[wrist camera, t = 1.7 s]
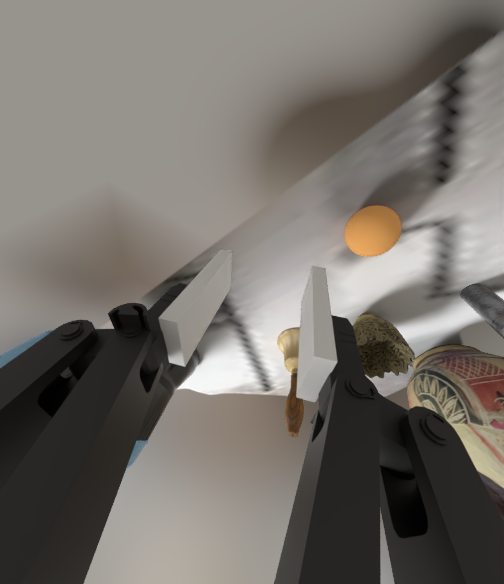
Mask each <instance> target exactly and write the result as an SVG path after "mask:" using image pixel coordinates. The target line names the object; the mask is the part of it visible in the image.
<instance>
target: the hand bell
mask: <svg viewBox="0 0 504 584" xmlns="http://www.w3.org/2000/svg"><path fill="white" fill-rule="evenodd" d="M299 338H300V328H292V329H288V330H285V331H283V332H282V333H281V334H280V335H279V337H278V340H277V342H278V346H279V348H280V350H281V351H282V352H283V353H284V360H285V362H284V364H285V367H286V369H287V370H288V371H289V372H291V373H292V375H291V389H290V393H289V395H288V398H287V401H286V407H285V420H286V424H287V430H288V435H289V436H291V437H297V436H298V432H299V429H300V427H301V424H302V420H303V414H304V407H303V399H301V398H297V397H296V392H297V374H298V356H299Z"/></svg>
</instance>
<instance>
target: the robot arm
mask: <svg viewBox="0 0 504 584" xmlns="http://www.w3.org/2000/svg"><path fill="white" fill-rule="evenodd" d="M231 276H232V251H229V250H223V249H220V250H219V252H218V253H217V254H216V255H215V256H214V257H213V258H212V259H211V260H210V262H209V263H208V264H207V265H206V266H205V267H204V268H203V269H202V270H201V271H200V273H199V274H198V275H197V276H196V277H195V278H194V279H193V280H192V281H191V283H190V284H189V285H185V284H181V283H180V284H178V285H176V286H174V287H172V288H171V289H170V290H169V291H168V292H166V293H165V295H163V296H162V297H161V298H160V300H158V301H157V302H156V303H155V304H154V305H153V306H152V307H151V308H150V309H149V310H148V311H147V308H146V307H145V306H144V305H142V304H138V303H127V304H124V305H120V306H118V307H116V308H114V309H113V310H111V311H110V312H109V313H108V315H109V317H110V320H111V322H112V324H113V326H114V329H95V328H94V326H93V324H92V322H89V321H88V320H76V321H72V322H68V323H66V324H63V325H62V326H60V327H58V328H56V329H51V330H48V331H46V332H44V333H41V334H39V335H37V336H36V337H33V338H31V339H30V340H28V341H26V342H24V343H22V344H20V345H18V346H16V347H15V348H13V349H11V350H9V351H7V352H5V353H3V354H2V355H0V584H83V583H84V580H85V578H86V575H87V572H88V570H89V567H90V564H91V562H92V559H93V556H94V553H95V551H96V548H97V545H98V543H99V540H100V537H101V535H102V532H103V530H104V527H105V524H106V521H107V519H108V516H109V513H110V511H111V508H112V505H113V503H114V500H115V497H116V495H117V492H118V489H119V487H120V484H121V481H122V478H123V476H124V473H125V470H126V469H127V468H128V467H129V466H131V465H132V464H133V463H134V461H135V460H136V458H137V457H138V455H139V454H140V452H141V451H142V449H143V447H144V446H145V444H147V442H148V438H149V437H150V435H151V433H152V432H153V430H154V428H155V426H156V424H157V423H158V421H159V419H160V417H161V415H162V413H163V412H164V410H165V408H166V406H167V404H168V403H169V401H170V399H171V397H172V395H173V394H174V392H175V390H176V389H177V388H178V387H179V386H180V385H181V384H182V383H183V382H184V381H185V380H186V379H187V378H188V377H189V376H190V375H191V374H192V373H193V372H194V371H195V369H196V367H197V365H198V363H199V356H198V353H197V351H196V350H195V349H196V347H197V345H198V344H199V342H200V340H201V338H202V337H203V335H204V333H205V331H206V330H207V328H208V326H209V325H210V323H211V321H212V319H213V318H214V316H215V314H216V312H217V311H218V309H219V307H220V305H221V304H222V302H223V300H224V299H225V297H226V295H227V293H228V292H229V290H230V288H231ZM318 396H319V409H318V410H317V412H316V414H315V415H314V417H313V419H312V421H311V423H312V424H313V427H312V431H311V435H310V439H309V443H308V448H307V452H306V455H305V460H304V464H303V468H302V472H301V476H300V480H299V484H298V488H297V493H296V496H295V500H294V504H293V509H292V513H291V517H290V521H289V525H288V529H287V533H286V537H285V541H284V545H283V550H282V554H281V558H280V562H279V566H278V570H277V574H276V579H275V582H274V584H380V508H381V514H382V519H383V524H384V529H385V534H386V540H387V545H388V550H389V556H390V561H391V566H392V572H393V577H394V582H395V584H504V522H503V520H502V518H501V516H500V514H499V512H498V510H497V508H496V506H495V504H494V502H493V500H492V499H491V497H490V495H489V493H488V491H487V489H486V487H485V485H484V483H483V481H482V479H481V477H480V475H479V473H478V471H477V469H476V467H475V465H474V464H473V462H472V460H471V458H470V456H469V454H468V452H467V450H466V448H465V446H464V444H463V442H462V440H461V438H460V437H459V435H458V434H457V432H456V431H455V429H454V428H453V426H452V425H451V424H450V423H449V422H448V421H447V420H446V419H445V418H443V417H442V416H441V415H439V414H438V413H436V412H435V411H433V410H431V409H428V408H426V407H421V406H415V407H413V408H411V409H409V410H406V409H404V408H403V407H401V406H399V405H397V404H395V403H393V402H392V401H390V400H388V399H386V398H385V397H383V396H382V395H380V394H379V393H378V391H377V389H376V387H375V386H374V384H373V383H372V382H371V381H370V380H369V379H368V378H367V377H366V376H365V373H364V369H363V365H362V361H361V357H360V352H359V348H358V345H357V340H356V338H355V332H354V328H353V326H352V325H351V323H350V322H349V321H348V319H346V318H342V317H337V316H332V315H331V308H330V301H329V293H328V285H327V277H326V270H325V268H320V267H315V266H312V269H311V272H310V275H309V279H308V282H307V285H306V289H305V292H304V295H303V299H302V303H301V320H300V338H299V356H298V374H297V392H296V397H297V398H301V399H304V400H308V401H311V402H315V401H316V399H317V398H318Z"/></svg>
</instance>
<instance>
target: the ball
mask: <svg viewBox="0 0 504 584" xmlns="http://www.w3.org/2000/svg"><path fill="white" fill-rule="evenodd" d="M401 230H402V225H401V220H400V218H399V216H398V215H397V213H396V212H395V211H393V210H392V209H390V208H388V207H386V206H380V205H374V206H369V207H365V208H363V209H361V210H359V211H358V212H356V213H355V214H354V215H353V216H352V217H351V218H350V220H349V221H348V223H347V225H346V228H345V241H346V244H347V246H348V247H349V248H350V249H351V250H352V251H353V252H354V253H356V254H358V255H361V256H366V257H371V256H377V255H381V254H383V253H385V252H387V251H388V250H390V249H391V248H392V247H393V246H394V245H395V244H396V242H397V241H398V239H399V237H400V234H401Z"/></svg>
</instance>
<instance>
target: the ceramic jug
mask: <svg viewBox="0 0 504 584" xmlns="http://www.w3.org/2000/svg"><path fill="white" fill-rule="evenodd" d="M413 367H414V370H415V371H414V373H413V375H412V376H411V378H410V380H409V381H408V386H407V395H408V401H409V406H410V409H411V408H413V407H415V406H421V407H426V408H428V409H431V410H433V411H435V412H436V413H438V414H439V415H441V416H442V417H443V418H445V419H446V420H447V421H448V422H449V423H450V424H451V425H452V426H453V428H454V429H455V431H456V432H457V434H458V435H459V437H460V438H461V440H462V442H463V444H464V446H465V448H466V450H467V452H468V454H469V456H470V458H471V460H472V462H473V464H474V465H475V467H476V469H477V471H478V473H479V475H480V477H481V479H482V481H483V483H484V485H485V487H486V489H487V491H488V493H489V495H490V497H491V499H492V500H493V502H494V504H495V506H496V508H497V510H498V512H499V514H500V516H501V518H502V520H503V522H504V357H500V356H496V355H492V354H488V353H484V352H481V351H479V350H477V349H475V348H473V347H470V346H464V345H445V346H440V347H437V348H434V349H432V350H429V351H427V352H425V353H424V354H422V355H421V356H419V357H418V358H416V359H415V360H414V362H413Z"/></svg>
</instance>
